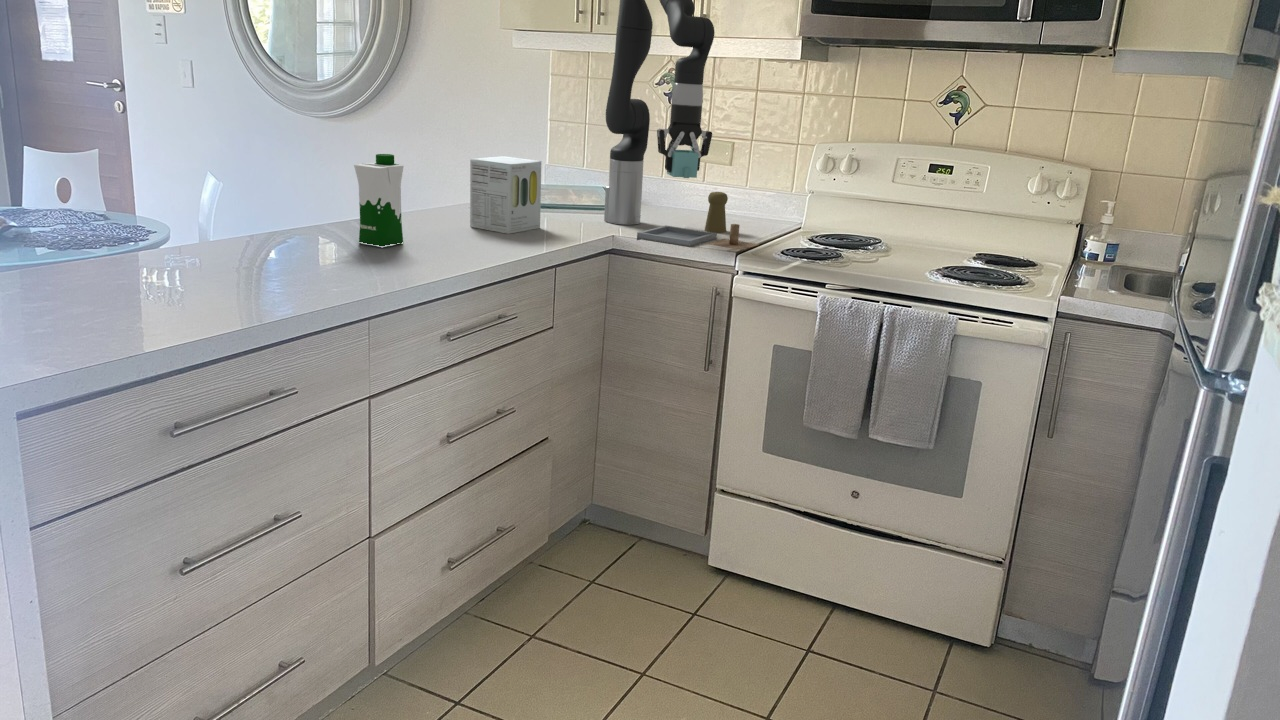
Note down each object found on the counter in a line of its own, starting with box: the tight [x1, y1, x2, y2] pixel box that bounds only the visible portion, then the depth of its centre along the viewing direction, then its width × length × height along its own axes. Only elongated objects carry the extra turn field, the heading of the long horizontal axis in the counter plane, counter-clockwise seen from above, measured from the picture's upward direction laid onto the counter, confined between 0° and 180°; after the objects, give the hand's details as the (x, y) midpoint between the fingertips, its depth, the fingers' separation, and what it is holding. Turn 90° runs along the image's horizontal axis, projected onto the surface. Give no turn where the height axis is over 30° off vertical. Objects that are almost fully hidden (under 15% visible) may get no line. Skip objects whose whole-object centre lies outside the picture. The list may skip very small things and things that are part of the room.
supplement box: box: [469, 155, 542, 235], centre depth 241 cm, size 13×13×18 cm
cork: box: [704, 191, 729, 234], centre depth 251 cm, size 6×6×11 cm
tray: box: [636, 225, 718, 248], centre depth 239 cm, size 15×15×2 cm
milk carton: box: [353, 153, 404, 246], centre depth 212 cm, size 9×9×20 cm
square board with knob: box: [707, 223, 760, 251], centre depth 235 cm, size 10×10×6 cm
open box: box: [666, 149, 699, 179], centre depth 232 cm, size 8×6×6 cm
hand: (681, 172), depth 234 cm, fingers closed on open box, 6 cm apart
